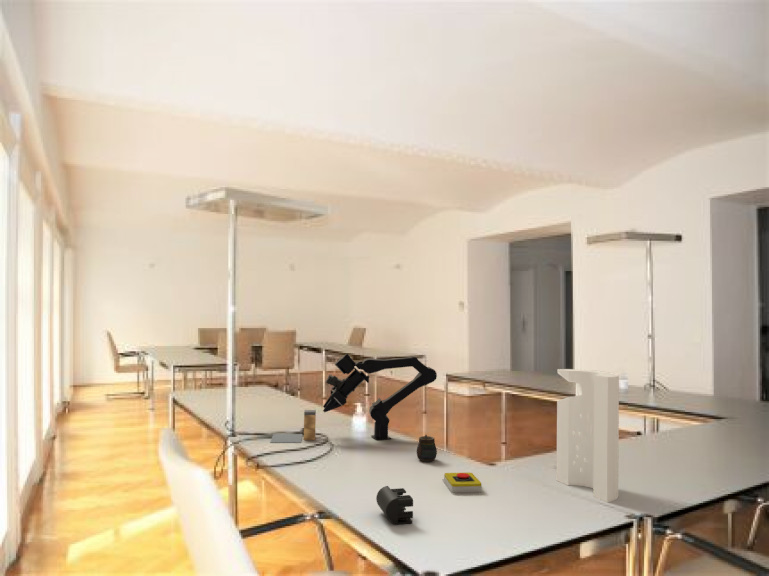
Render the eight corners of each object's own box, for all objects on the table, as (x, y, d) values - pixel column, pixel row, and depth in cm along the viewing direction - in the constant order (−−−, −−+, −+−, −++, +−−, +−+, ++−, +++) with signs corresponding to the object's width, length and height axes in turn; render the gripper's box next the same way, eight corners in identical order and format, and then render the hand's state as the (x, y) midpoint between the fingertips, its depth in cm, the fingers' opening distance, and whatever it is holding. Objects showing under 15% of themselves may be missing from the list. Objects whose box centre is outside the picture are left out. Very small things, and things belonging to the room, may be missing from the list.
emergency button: (453, 481, 160) (441, 466, 175) (452, 497, 160) (441, 481, 175) (484, 481, 162) (470, 466, 176) (484, 496, 161) (470, 480, 176)
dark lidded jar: (435, 457, 200) (435, 429, 201) (438, 463, 193) (438, 434, 193) (415, 457, 200) (416, 429, 201) (417, 463, 193) (418, 434, 193)
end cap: (375, 512, 146) (376, 486, 146) (401, 510, 148) (402, 484, 148) (385, 527, 136) (386, 499, 136) (413, 524, 138) (413, 497, 138)
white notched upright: (604, 502, 157) (554, 480, 176) (634, 498, 161) (582, 477, 180) (605, 377, 158) (555, 369, 177) (635, 376, 162) (583, 368, 182)
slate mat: (302, 434, 232) (302, 434, 232) (301, 442, 219) (301, 442, 219) (273, 434, 231) (273, 434, 231) (270, 442, 217) (270, 442, 217)
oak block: (315, 437, 228) (315, 410, 229) (314, 439, 224) (315, 412, 224) (304, 437, 228) (304, 410, 228) (303, 439, 223) (304, 412, 224)
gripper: (337, 365, 237) (310, 391, 236) (338, 370, 219) (309, 399, 217) (355, 384, 238) (328, 410, 236) (358, 391, 219) (329, 419, 218)
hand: (323, 409), depth 227 cm, fingers open, 9 cm apart
